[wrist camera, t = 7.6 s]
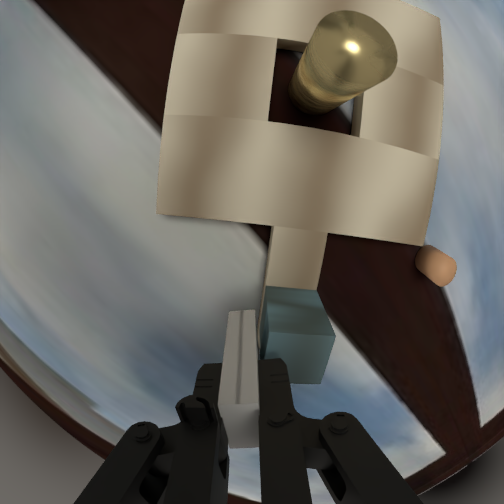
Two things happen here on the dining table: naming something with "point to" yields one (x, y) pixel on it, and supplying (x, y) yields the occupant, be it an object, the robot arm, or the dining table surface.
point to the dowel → (436, 265)
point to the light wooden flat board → (299, 152)
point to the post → (341, 62)
